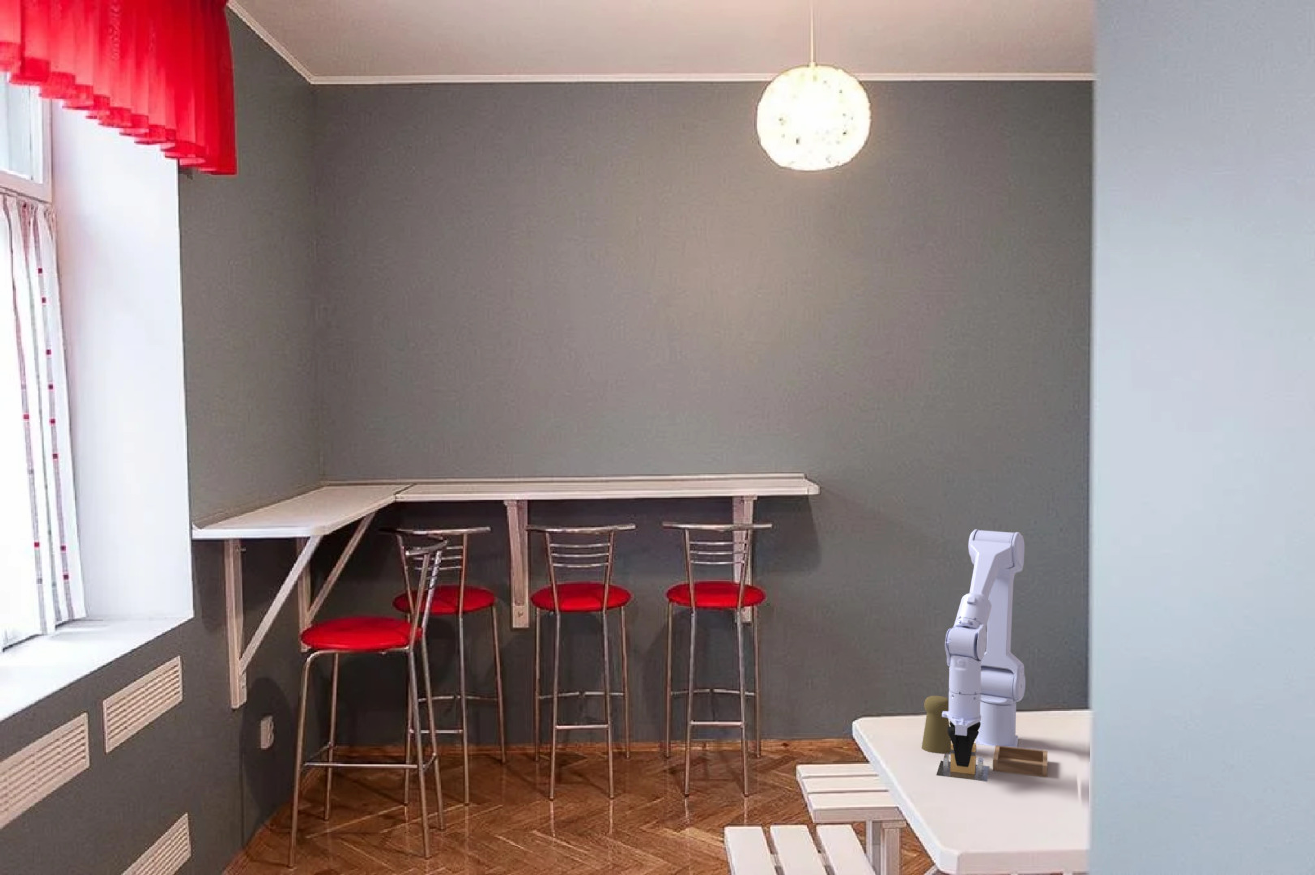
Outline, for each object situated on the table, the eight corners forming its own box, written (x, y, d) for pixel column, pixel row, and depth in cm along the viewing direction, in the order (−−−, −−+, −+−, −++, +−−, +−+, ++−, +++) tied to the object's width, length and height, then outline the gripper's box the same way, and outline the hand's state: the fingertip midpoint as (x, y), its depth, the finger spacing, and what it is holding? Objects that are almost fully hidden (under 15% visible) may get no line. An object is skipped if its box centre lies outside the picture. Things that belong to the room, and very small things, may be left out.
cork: (953, 757, 217) (954, 701, 216) (921, 755, 218) (922, 699, 218) (951, 748, 223) (952, 694, 222) (920, 746, 224) (921, 692, 223)
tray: (995, 758, 216) (995, 745, 216) (1047, 764, 213) (1047, 751, 213) (992, 773, 207) (992, 760, 207) (1046, 780, 204) (1047, 766, 204)
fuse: (951, 767, 209) (951, 740, 209) (976, 769, 207) (976, 743, 207) (950, 771, 206) (950, 745, 206) (975, 774, 205) (975, 747, 205)
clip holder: (940, 763, 213) (941, 748, 213) (989, 769, 210) (989, 753, 209) (936, 778, 204) (936, 762, 204) (986, 784, 201) (987, 768, 201)
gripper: (946, 680, 215) (945, 749, 215) (938, 698, 201) (937, 772, 201) (984, 683, 212) (982, 753, 213) (979, 702, 199) (977, 777, 199)
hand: (963, 763), depth 207 cm, fingers closed on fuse, 3 cm apart
